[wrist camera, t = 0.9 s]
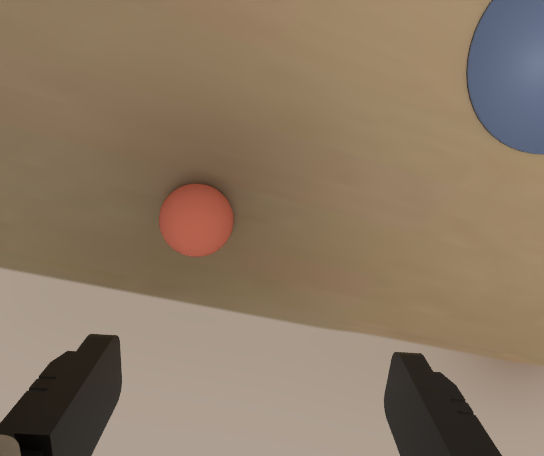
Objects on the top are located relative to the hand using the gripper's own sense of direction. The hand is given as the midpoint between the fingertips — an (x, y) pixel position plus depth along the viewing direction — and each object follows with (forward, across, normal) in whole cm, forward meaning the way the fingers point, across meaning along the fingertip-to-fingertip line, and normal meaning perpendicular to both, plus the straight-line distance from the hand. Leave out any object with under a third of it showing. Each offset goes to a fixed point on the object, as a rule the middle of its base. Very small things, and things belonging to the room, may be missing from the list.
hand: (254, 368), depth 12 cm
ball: (+19, +5, +2) cm, 20 cm away
